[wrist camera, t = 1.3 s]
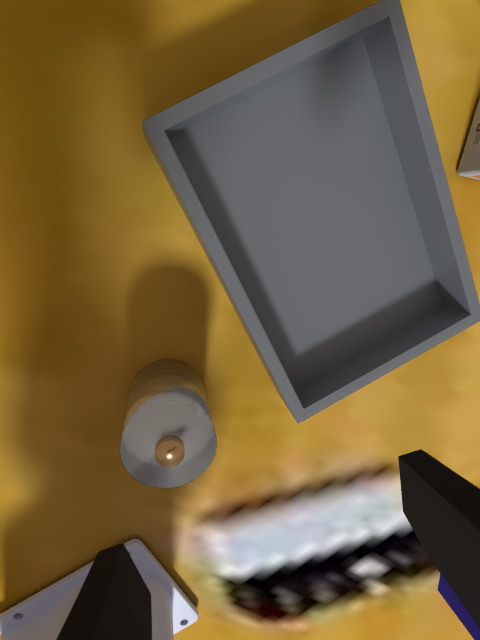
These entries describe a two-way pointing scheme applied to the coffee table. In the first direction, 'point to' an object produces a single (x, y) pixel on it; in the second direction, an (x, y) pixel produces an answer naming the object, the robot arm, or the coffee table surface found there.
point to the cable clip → (458, 608)
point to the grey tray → (324, 207)
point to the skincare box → (472, 150)
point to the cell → (167, 426)
